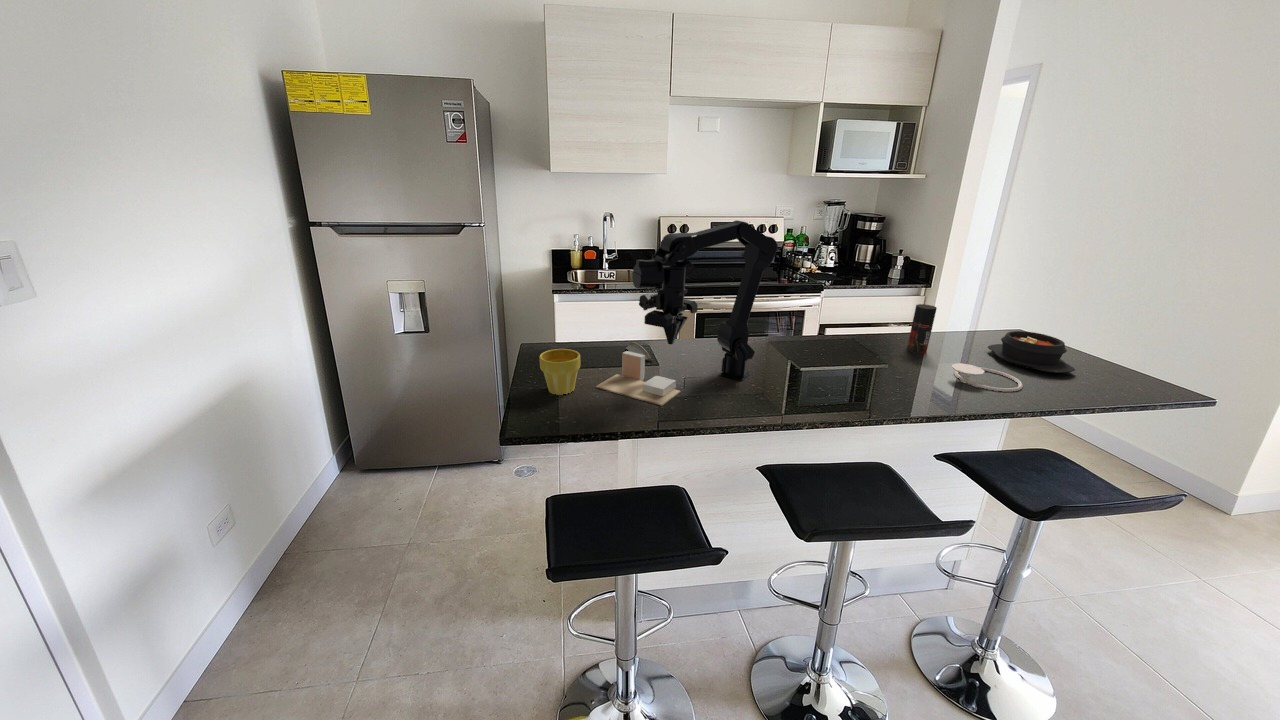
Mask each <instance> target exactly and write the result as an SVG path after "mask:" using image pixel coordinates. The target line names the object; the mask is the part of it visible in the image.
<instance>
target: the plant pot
mask: <svg viewBox="0 0 1280 720" xmlns="http://www.w3.org/2000/svg"><path fill="white" fill-rule="evenodd" d="M539 367H540V370H541V371H542V372H543V375H544V379H545V381H546V385H547V389H548V392H549V393H550V394H552V395H555V394H556V396H564V395H563V394H566V395H569V394H572V393H573V392H574V391H575V387H576V381H577V377H578V371H579V369H580V368H581V354H580V352H578V351H577V350H574V349H569V348H555V349H548V350H546V351H543V352H542V353H540V355H539ZM572 391H573V392H572ZM571 392H572V393H571ZM568 393H569V394H568Z"/></svg>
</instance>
